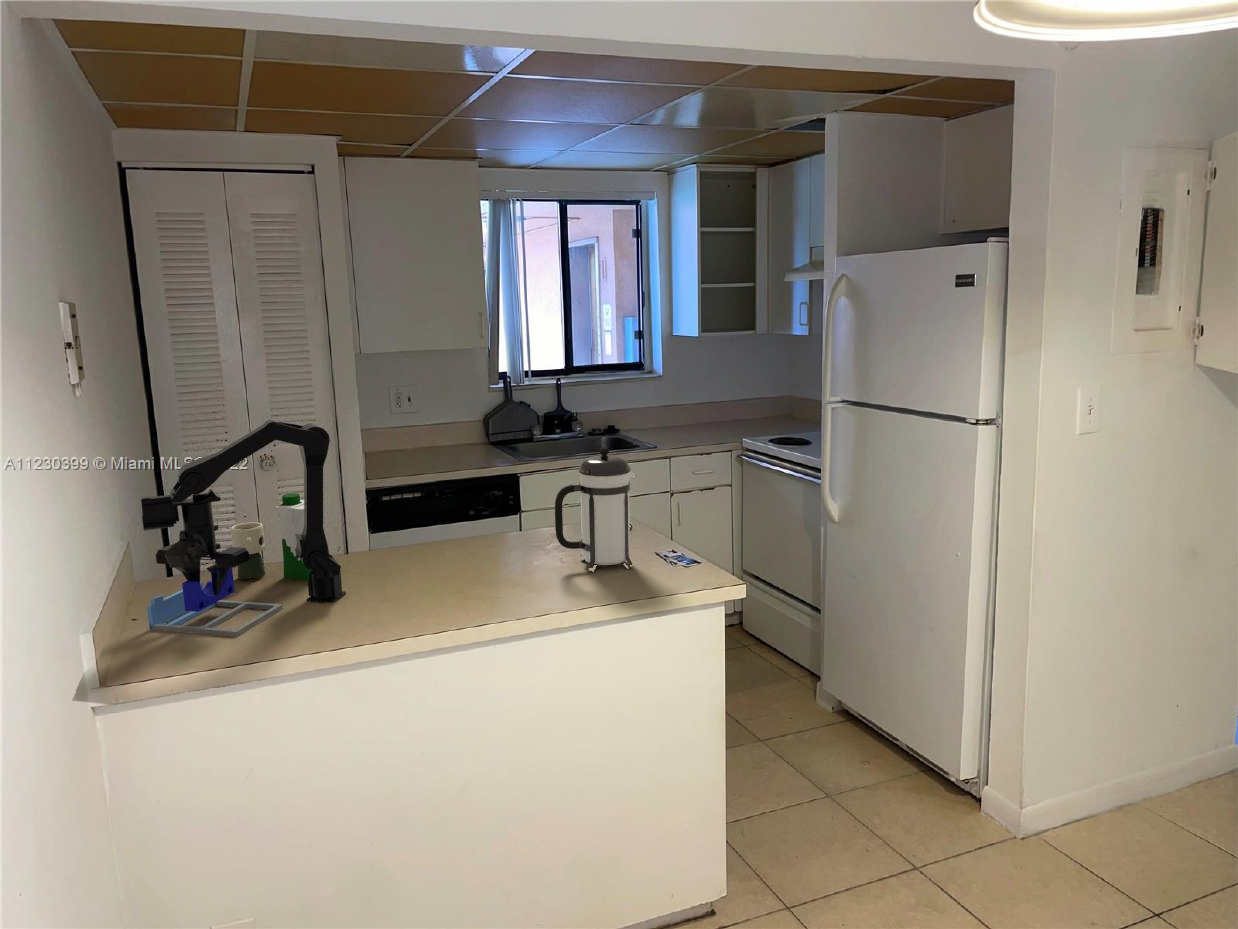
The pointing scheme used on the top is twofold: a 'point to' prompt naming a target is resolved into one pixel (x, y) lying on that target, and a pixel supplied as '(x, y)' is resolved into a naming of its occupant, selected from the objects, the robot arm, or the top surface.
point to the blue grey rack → (175, 607)
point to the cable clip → (205, 593)
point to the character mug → (249, 548)
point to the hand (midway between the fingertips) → (206, 594)
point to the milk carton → (292, 535)
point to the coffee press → (600, 510)
